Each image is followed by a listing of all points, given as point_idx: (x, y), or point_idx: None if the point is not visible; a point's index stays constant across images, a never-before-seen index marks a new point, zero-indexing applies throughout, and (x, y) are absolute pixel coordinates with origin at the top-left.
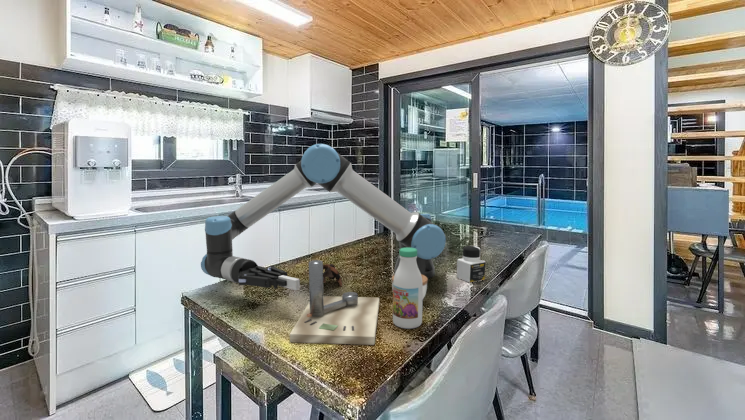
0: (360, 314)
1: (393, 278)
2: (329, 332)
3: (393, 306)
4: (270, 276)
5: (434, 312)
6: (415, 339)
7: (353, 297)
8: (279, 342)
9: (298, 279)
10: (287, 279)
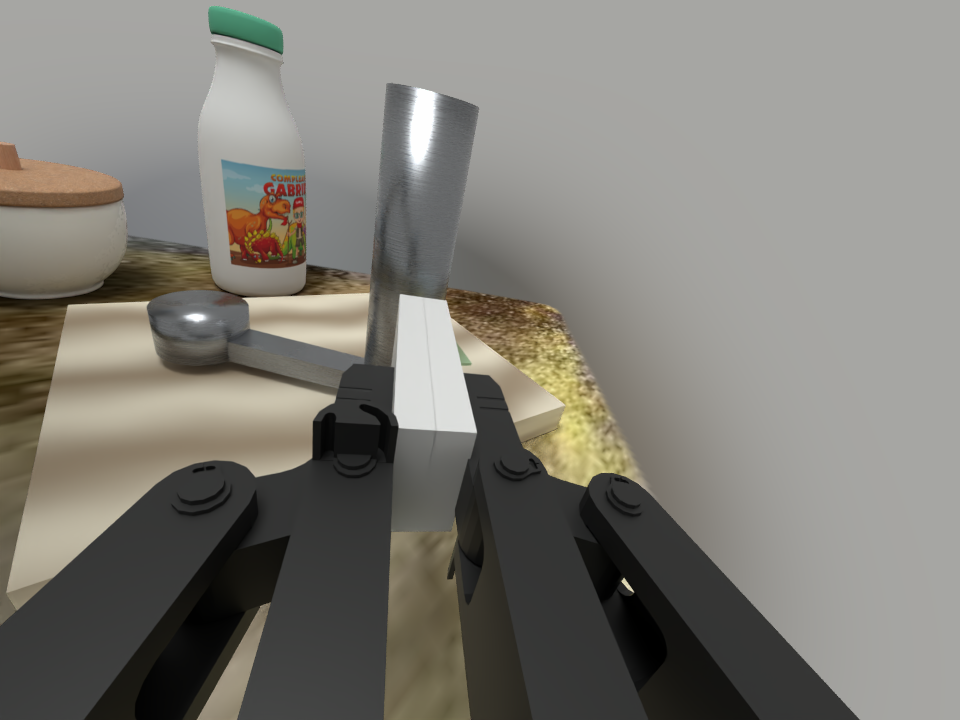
0: (302, 319)
1: (27, 187)
2: (468, 342)
3: (284, 244)
4: (560, 547)
5: (160, 256)
6: (345, 277)
7: (236, 296)
8: (586, 451)
9: (412, 296)
10: (454, 352)
